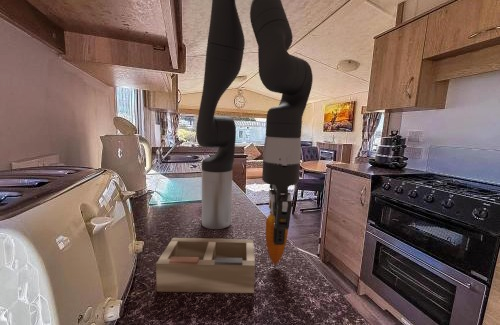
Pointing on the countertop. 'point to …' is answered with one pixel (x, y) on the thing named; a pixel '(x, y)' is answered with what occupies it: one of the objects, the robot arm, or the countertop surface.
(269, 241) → the carrot
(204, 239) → the frame
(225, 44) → the robot arm
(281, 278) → the countertop surface
